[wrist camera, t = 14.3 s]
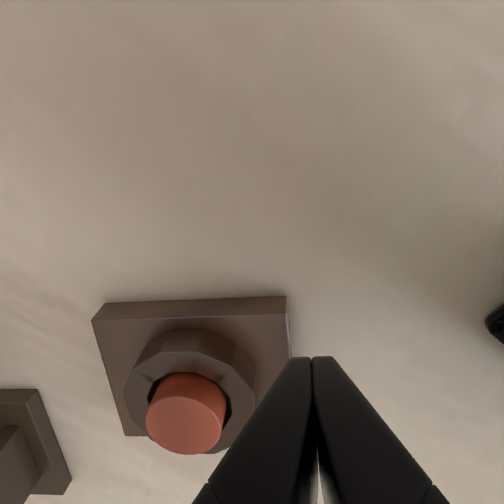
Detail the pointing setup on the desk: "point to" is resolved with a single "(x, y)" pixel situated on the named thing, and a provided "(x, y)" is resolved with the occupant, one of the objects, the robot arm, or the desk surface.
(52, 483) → the lock bracket
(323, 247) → the desk surface
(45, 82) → the desk surface
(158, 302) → the button plate
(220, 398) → the release button
